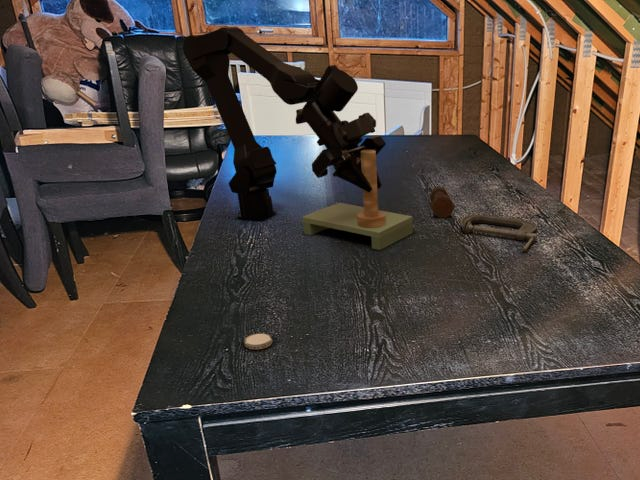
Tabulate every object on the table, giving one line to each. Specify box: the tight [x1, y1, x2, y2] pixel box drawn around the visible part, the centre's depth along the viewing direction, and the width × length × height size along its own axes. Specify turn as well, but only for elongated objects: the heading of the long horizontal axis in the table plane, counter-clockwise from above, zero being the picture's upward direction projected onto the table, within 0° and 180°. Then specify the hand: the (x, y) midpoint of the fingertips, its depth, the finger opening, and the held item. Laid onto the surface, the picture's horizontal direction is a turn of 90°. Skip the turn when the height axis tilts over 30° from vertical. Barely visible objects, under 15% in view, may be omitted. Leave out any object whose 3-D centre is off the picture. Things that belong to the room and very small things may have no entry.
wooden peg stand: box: [357, 150, 386, 228], centre depth 135 cm, size 6×6×15 cm
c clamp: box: [459, 214, 538, 252], centre depth 146 cm, size 20×17×3 cm
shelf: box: [301, 202, 414, 251], centre depth 143 cm, size 20×13×4 cm, turn 63°
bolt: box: [428, 186, 456, 219], centre depth 161 cm, size 6×5×15 cm
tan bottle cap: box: [243, 333, 273, 350], centre depth 99 cm, size 4×4×1 cm
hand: (375, 189), depth 134 cm, fingers closed on wooden peg stand, 3 cm apart
